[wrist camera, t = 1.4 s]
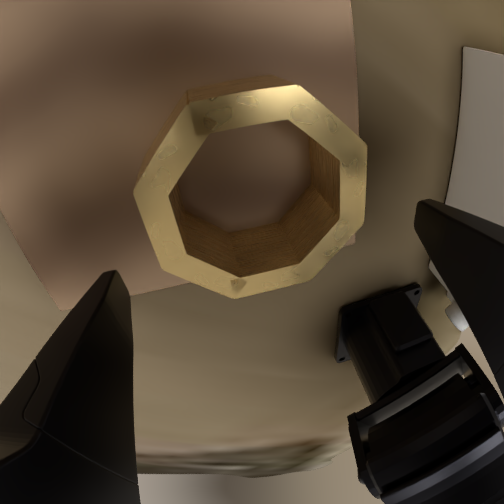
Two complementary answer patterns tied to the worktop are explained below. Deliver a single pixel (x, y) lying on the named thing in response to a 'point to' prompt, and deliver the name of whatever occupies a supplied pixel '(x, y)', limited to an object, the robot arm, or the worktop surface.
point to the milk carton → (478, 149)
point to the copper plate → (151, 122)
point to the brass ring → (265, 236)
